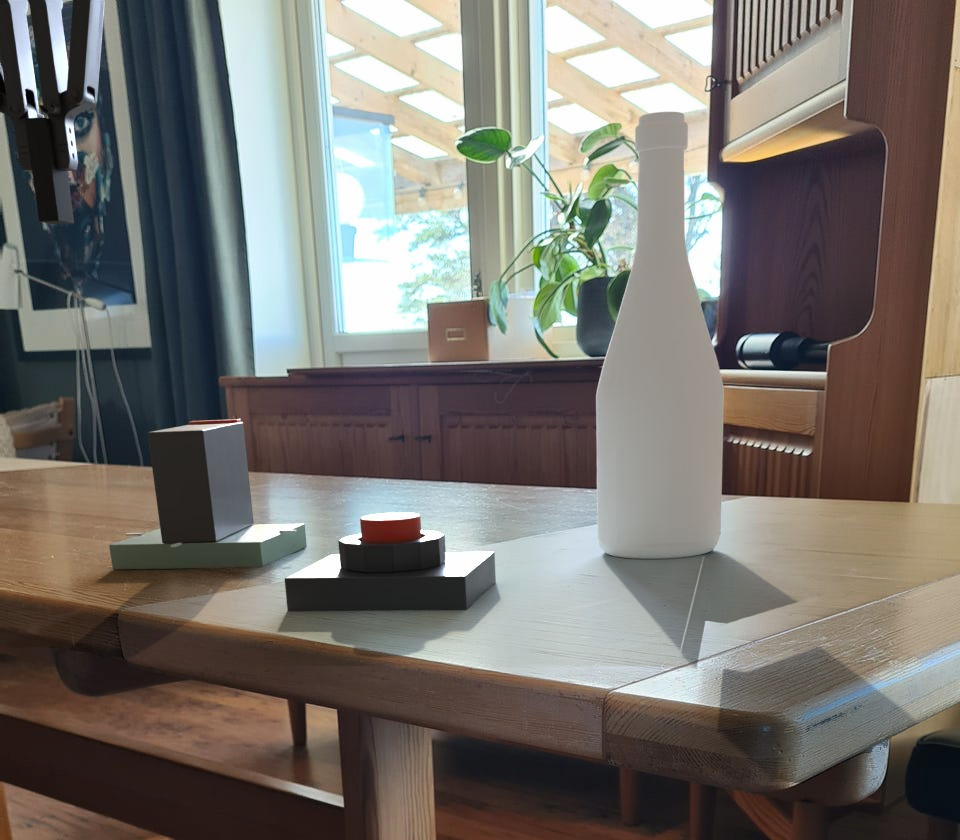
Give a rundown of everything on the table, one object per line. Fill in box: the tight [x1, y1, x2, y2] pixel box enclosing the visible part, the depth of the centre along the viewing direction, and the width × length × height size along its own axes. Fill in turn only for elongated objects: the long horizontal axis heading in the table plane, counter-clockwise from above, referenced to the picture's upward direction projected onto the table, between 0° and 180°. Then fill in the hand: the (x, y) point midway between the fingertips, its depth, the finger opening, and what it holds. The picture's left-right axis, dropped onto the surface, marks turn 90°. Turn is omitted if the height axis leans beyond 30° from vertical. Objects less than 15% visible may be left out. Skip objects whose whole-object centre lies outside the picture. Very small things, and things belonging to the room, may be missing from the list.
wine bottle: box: [595, 111, 725, 560], centre depth 95 cm, size 10×10×30 cm
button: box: [359, 512, 422, 542], centre depth 85 cm, size 4×4×2 cm
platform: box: [108, 523, 308, 571], centre depth 108 cm, size 15×15×2 cm
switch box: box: [284, 529, 497, 612], centre depth 86 cm, size 12×10×4 cm
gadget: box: [147, 418, 255, 543], centre depth 106 cm, size 11×4×9 cm, turn 174°
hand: (56, 222), depth 93 cm, fingers closed
